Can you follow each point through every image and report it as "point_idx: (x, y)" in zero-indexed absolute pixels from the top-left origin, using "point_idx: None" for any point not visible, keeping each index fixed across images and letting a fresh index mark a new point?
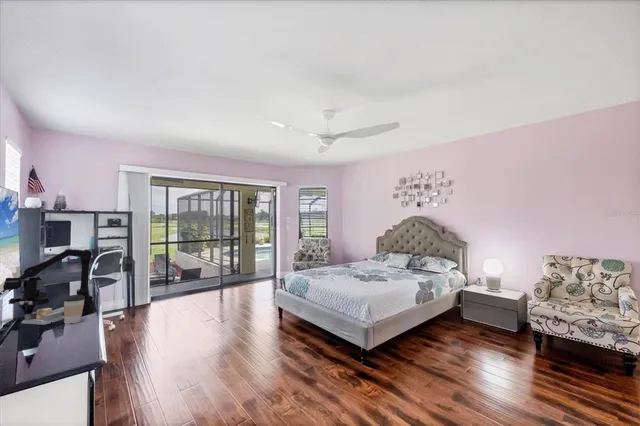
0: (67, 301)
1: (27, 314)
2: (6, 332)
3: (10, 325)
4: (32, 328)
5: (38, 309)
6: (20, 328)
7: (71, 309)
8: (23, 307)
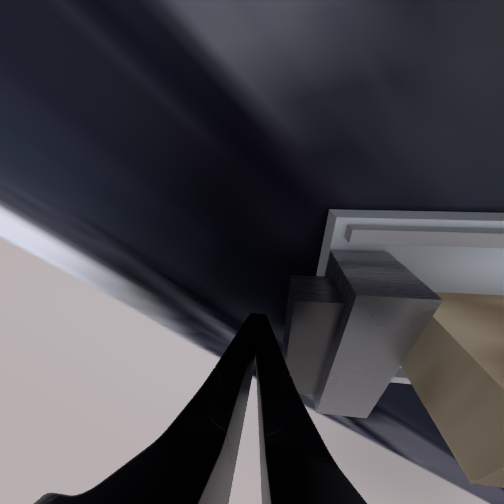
0: None
1: (335, 412)
2: (358, 431)
3: None
4: None
5: (492, 484)
6: (379, 405)
7: None
8: (230, 491)
